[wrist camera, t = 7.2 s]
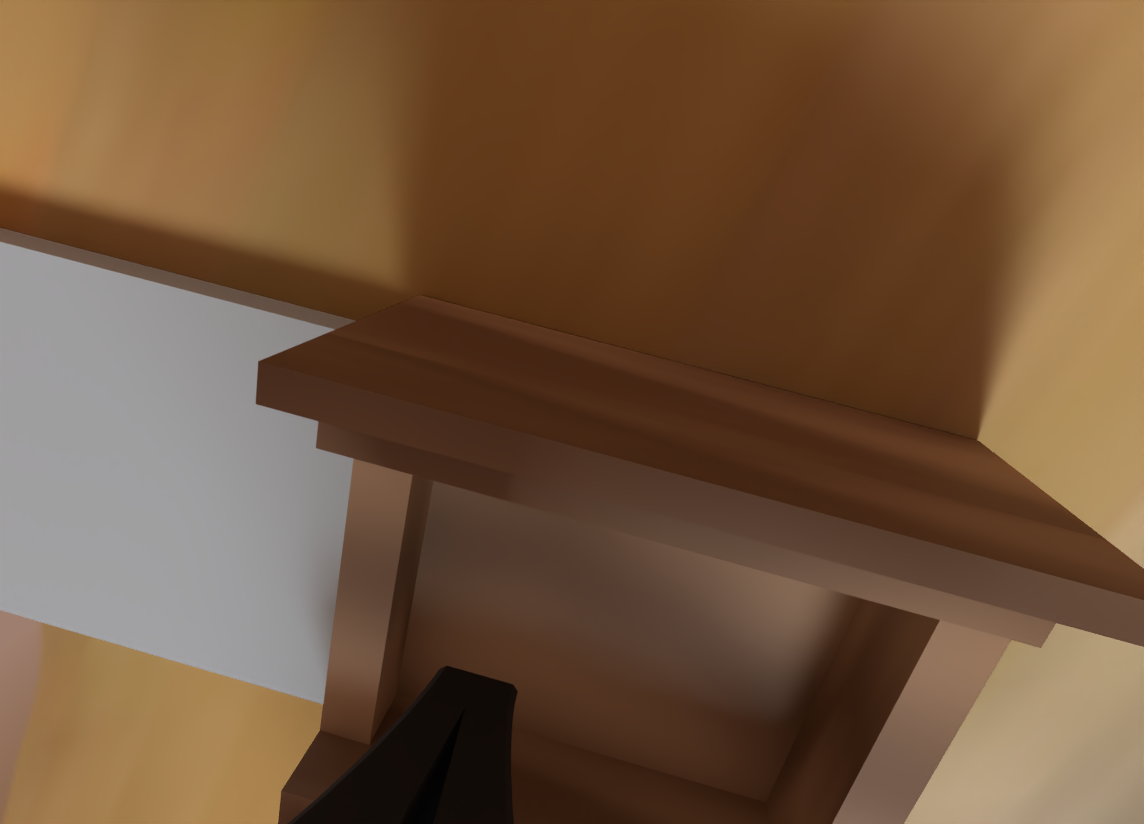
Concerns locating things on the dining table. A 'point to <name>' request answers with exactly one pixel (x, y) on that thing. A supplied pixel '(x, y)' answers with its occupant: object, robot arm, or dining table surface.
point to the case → (669, 572)
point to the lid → (163, 468)
